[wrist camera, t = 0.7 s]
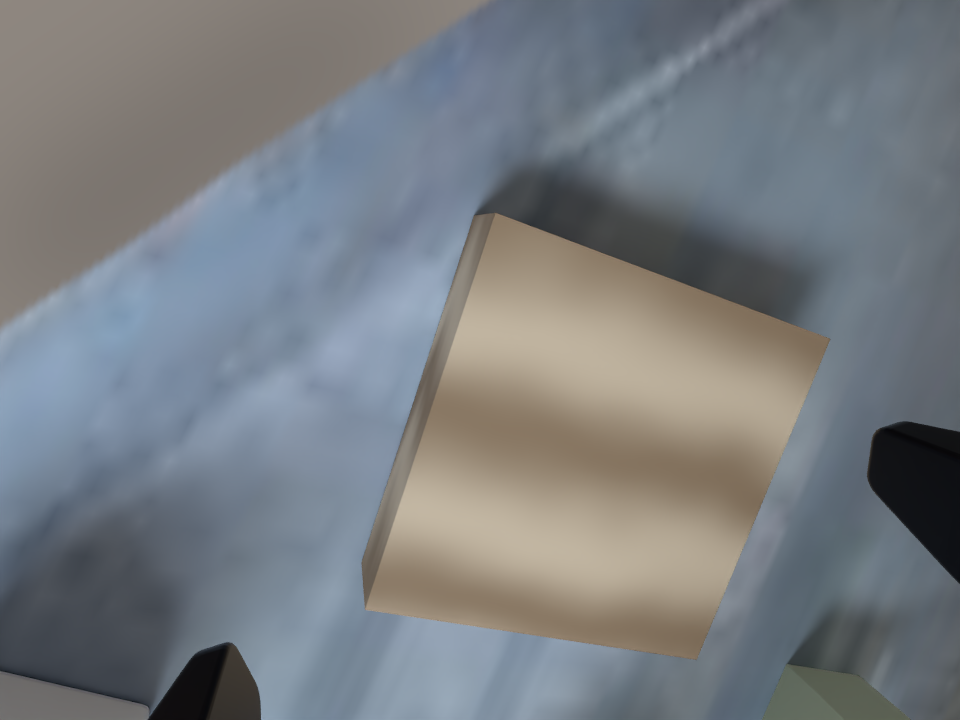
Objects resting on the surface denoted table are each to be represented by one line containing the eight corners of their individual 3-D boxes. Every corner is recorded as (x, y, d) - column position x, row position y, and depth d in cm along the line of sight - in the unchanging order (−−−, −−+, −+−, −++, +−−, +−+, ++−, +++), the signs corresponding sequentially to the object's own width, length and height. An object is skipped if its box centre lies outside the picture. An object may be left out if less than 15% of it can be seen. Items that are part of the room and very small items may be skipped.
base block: (658, 614, 27) (696, 659, 24) (361, 562, 23) (364, 609, 20) (773, 326, 25) (830, 338, 22) (473, 215, 21) (495, 212, 18)
